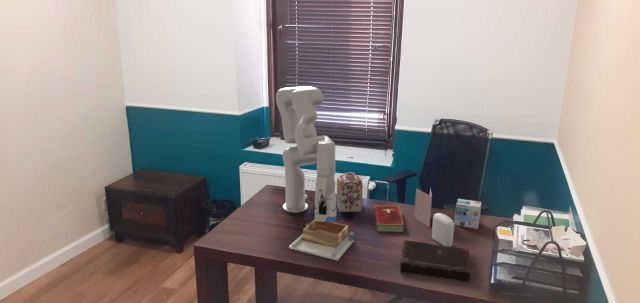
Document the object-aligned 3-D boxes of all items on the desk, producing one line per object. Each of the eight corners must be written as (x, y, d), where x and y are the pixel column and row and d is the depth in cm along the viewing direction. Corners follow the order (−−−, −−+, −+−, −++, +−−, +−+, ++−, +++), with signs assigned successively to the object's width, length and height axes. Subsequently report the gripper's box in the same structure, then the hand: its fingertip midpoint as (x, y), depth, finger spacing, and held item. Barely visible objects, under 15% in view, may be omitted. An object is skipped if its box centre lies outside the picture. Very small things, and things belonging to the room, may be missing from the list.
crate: (315, 228, 201) (315, 218, 200) (348, 236, 195) (348, 225, 193) (302, 240, 191) (302, 229, 190) (337, 248, 185) (337, 237, 183)
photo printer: (430, 237, 196) (432, 211, 192) (437, 235, 198) (440, 209, 194) (446, 248, 187) (448, 221, 183) (454, 246, 189) (456, 219, 185)
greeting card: (431, 227, 205) (433, 196, 201) (414, 226, 206) (416, 195, 202) (430, 216, 216) (432, 187, 211) (414, 215, 217) (416, 186, 213)
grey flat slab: (307, 231, 202) (307, 223, 200) (353, 241, 192) (353, 233, 191) (288, 248, 187) (288, 239, 186) (337, 260, 178) (337, 251, 177)
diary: (469, 284, 164) (470, 272, 162) (399, 274, 170) (400, 262, 168) (467, 257, 181) (468, 246, 179) (403, 249, 187) (404, 238, 185)
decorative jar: (359, 202, 232) (360, 169, 227) (362, 212, 221) (363, 177, 216) (336, 203, 232) (336, 169, 226) (338, 212, 220) (338, 178, 215)
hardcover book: (376, 232, 201) (377, 223, 200) (373, 212, 221) (374, 204, 220) (403, 233, 201) (404, 224, 200) (398, 213, 221) (399, 205, 220)
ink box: (336, 218, 192) (337, 192, 188) (334, 223, 187) (335, 196, 183) (317, 216, 193) (316, 190, 190) (314, 221, 188) (314, 195, 185)
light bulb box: (453, 225, 207) (455, 203, 204) (455, 219, 213) (457, 198, 210) (478, 229, 203) (480, 207, 200) (479, 223, 209) (481, 201, 206)
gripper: (326, 163, 193) (326, 202, 198) (308, 175, 178) (308, 217, 183) (342, 165, 190) (342, 205, 195) (325, 178, 175) (325, 221, 180)
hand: (325, 210), depth 189 cm, fingers closed on ink box, 5 cm apart
